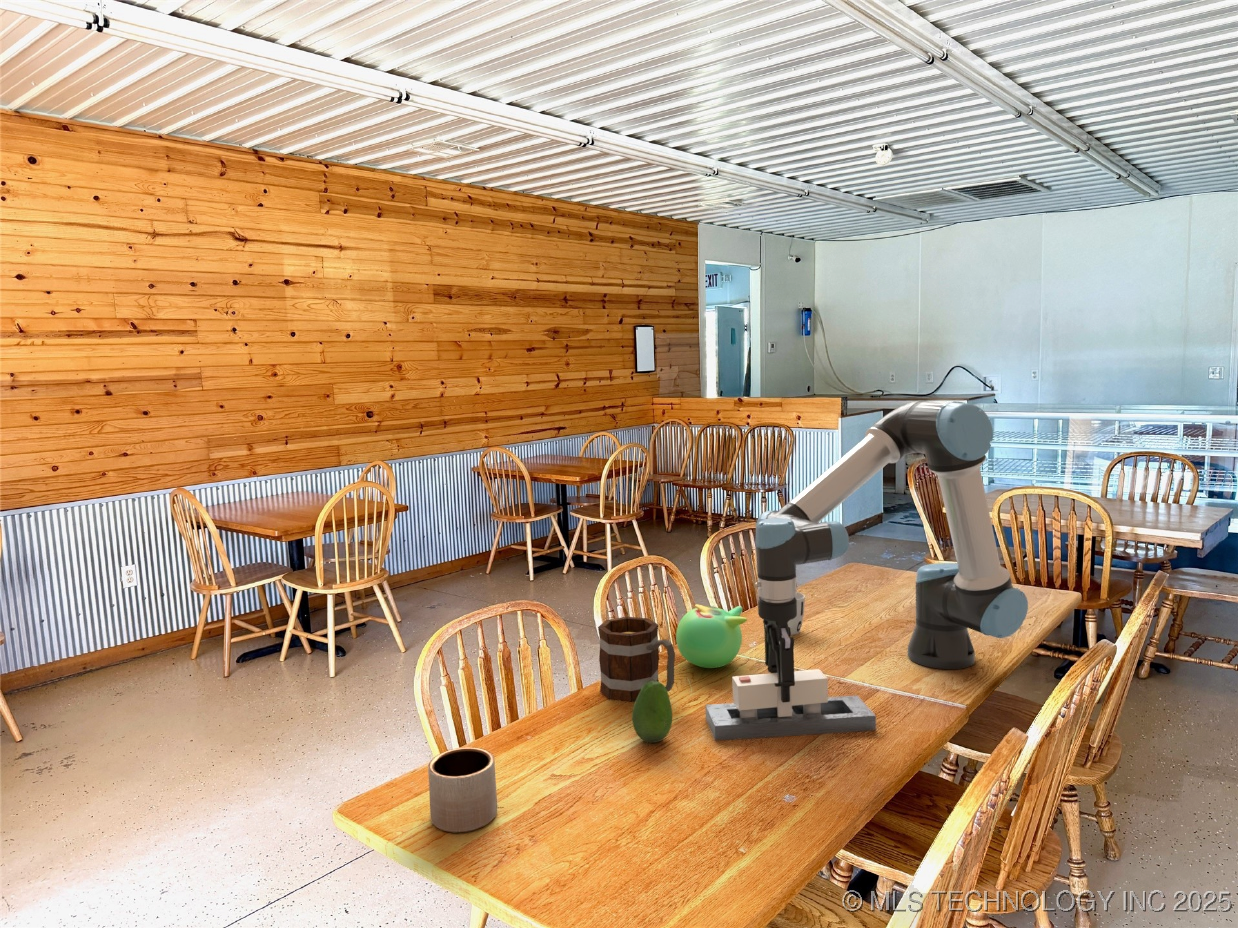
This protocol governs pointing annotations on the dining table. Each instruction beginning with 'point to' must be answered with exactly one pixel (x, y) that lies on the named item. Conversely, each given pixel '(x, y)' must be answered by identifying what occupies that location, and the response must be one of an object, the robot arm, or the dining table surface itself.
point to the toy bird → (710, 635)
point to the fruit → (652, 712)
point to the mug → (631, 657)
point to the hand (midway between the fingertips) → (780, 709)
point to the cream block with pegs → (763, 693)
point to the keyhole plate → (791, 720)
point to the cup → (797, 621)
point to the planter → (462, 789)
